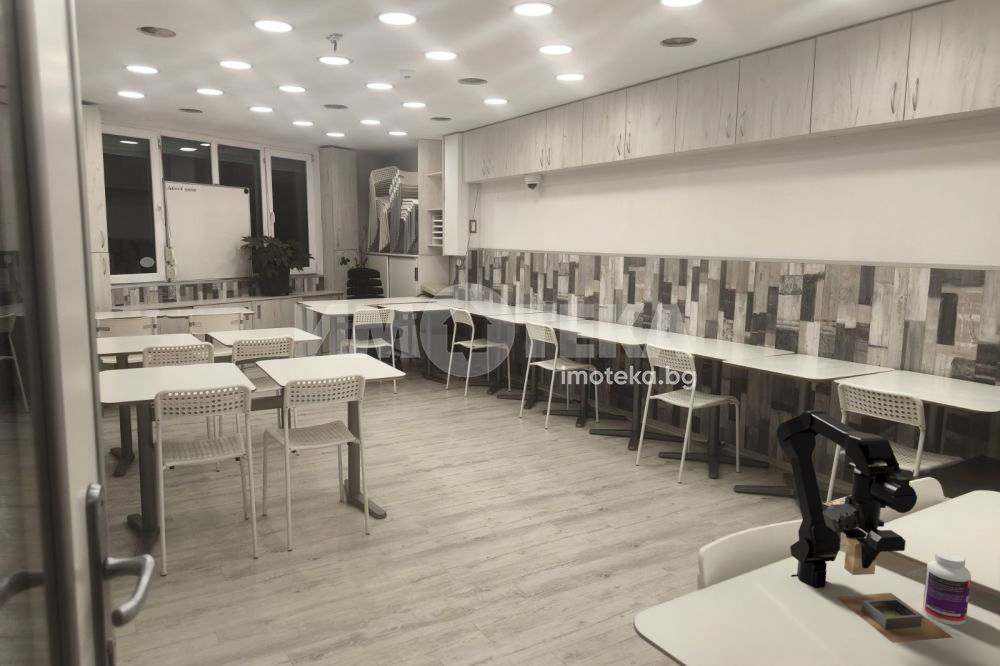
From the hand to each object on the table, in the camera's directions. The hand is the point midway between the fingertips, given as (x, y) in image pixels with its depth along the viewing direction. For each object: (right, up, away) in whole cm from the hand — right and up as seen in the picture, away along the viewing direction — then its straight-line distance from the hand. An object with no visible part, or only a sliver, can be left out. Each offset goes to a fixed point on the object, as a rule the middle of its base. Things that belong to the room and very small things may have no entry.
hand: (860, 564), depth 149 cm
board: (+7, -12, +1) cm, 14 cm away
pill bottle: (+19, -13, +2) cm, 23 cm away
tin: (+6, -12, 0) cm, 13 cm away
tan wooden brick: (0, -2, 0) cm, 2 cm away
